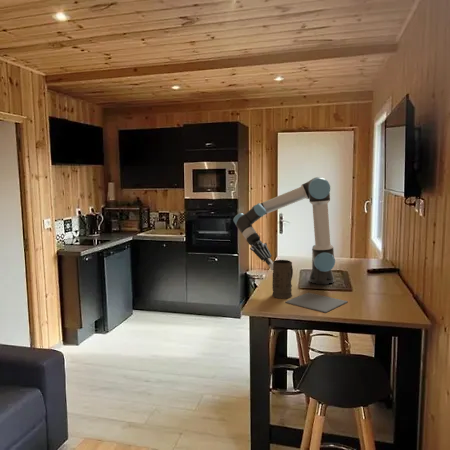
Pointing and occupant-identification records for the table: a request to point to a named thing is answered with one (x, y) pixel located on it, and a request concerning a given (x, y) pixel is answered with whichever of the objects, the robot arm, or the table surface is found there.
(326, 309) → the mat
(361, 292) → the table surface
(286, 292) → the beer stein
